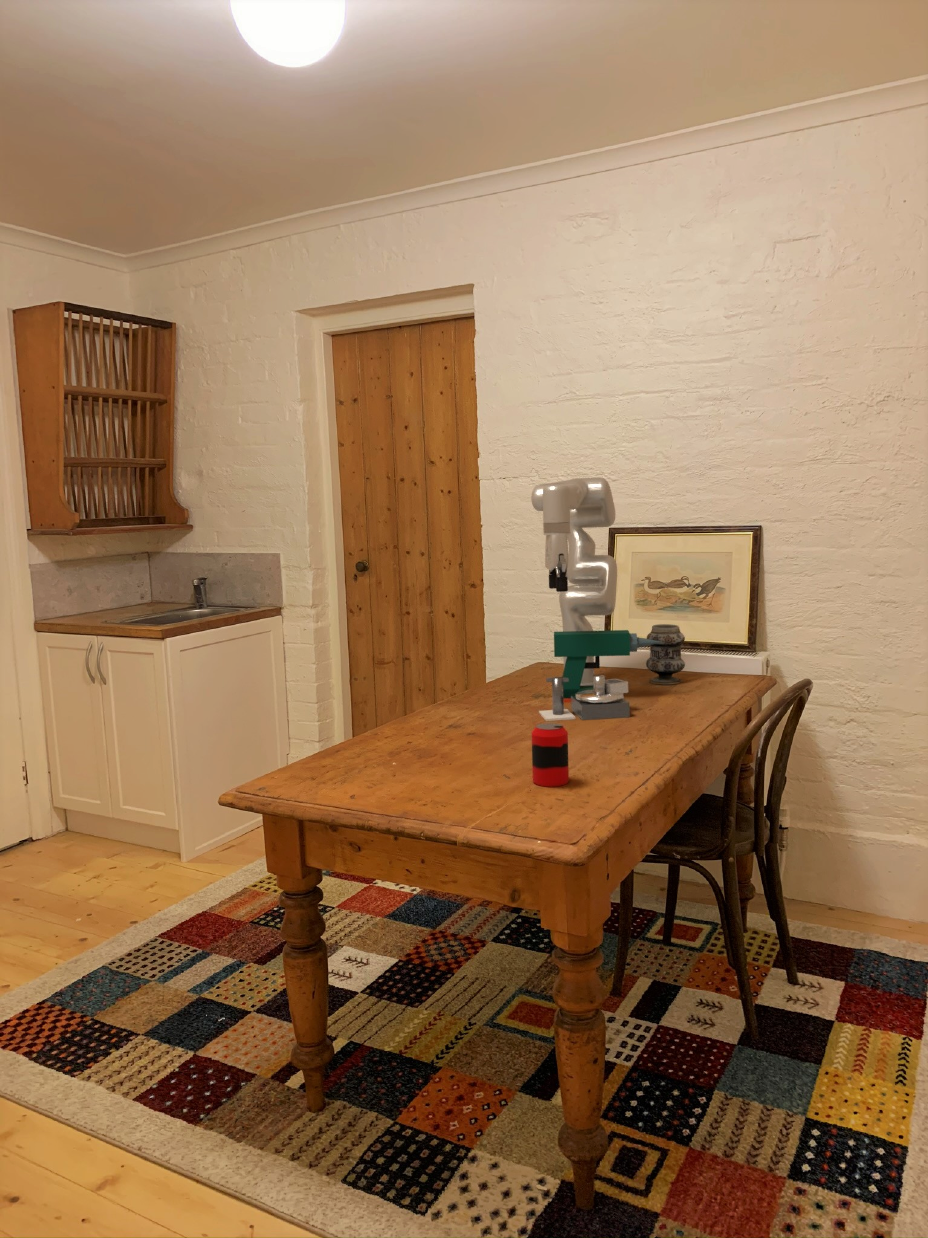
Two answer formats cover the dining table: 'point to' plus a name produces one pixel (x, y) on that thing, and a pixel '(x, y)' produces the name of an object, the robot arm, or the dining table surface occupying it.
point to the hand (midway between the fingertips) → (558, 589)
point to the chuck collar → (604, 690)
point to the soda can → (550, 755)
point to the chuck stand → (600, 709)
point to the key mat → (550, 716)
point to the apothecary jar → (665, 653)
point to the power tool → (591, 653)
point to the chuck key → (557, 694)
